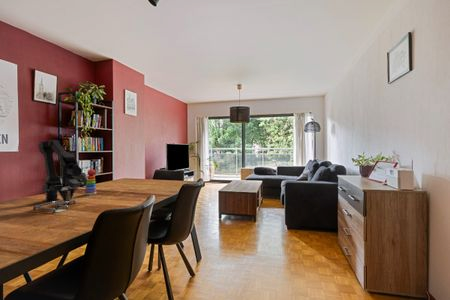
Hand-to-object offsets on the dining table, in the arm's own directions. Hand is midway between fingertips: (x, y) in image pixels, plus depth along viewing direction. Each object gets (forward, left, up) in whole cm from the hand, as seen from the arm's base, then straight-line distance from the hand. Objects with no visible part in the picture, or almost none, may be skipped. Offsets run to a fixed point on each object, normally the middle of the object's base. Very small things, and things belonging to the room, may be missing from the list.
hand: (67, 200), depth 148 cm
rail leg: (0, -7, -2) cm, 7 cm away
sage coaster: (+12, -13, -2) cm, 18 cm away
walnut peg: (0, 0, -2) cm, 2 cm away
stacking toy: (-12, +26, -2) cm, 29 cm away
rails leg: (+5, -13, -2) cm, 14 cm away
